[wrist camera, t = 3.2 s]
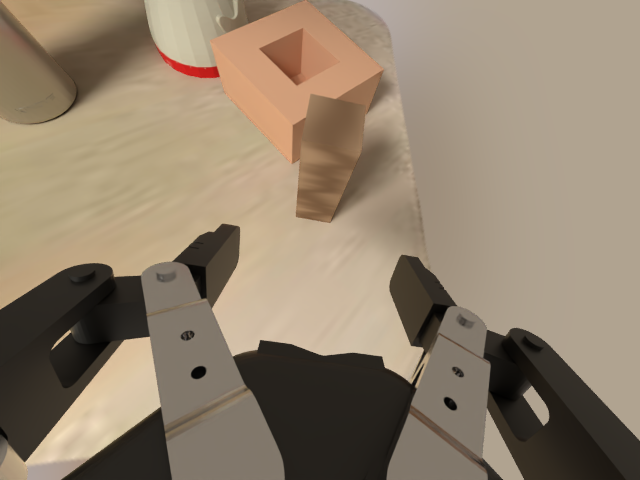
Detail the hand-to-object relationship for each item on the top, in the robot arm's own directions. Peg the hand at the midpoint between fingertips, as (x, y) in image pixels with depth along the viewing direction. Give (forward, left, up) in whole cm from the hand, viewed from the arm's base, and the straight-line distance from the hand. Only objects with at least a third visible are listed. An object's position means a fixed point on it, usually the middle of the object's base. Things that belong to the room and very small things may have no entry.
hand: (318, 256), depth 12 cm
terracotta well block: (-21, +18, -17) cm, 32 cm away
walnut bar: (-7, +9, -17) cm, 20 cm away
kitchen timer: (-38, +14, -17) cm, 44 cm away
